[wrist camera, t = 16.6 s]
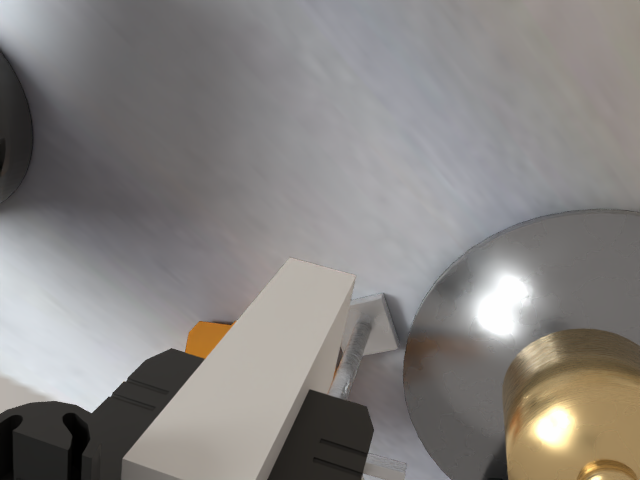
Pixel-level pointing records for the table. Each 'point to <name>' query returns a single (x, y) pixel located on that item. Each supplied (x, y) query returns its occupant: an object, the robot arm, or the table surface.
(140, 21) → the table surface
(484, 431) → the turntable
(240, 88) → the table surface
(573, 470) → the cover
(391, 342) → the stand
